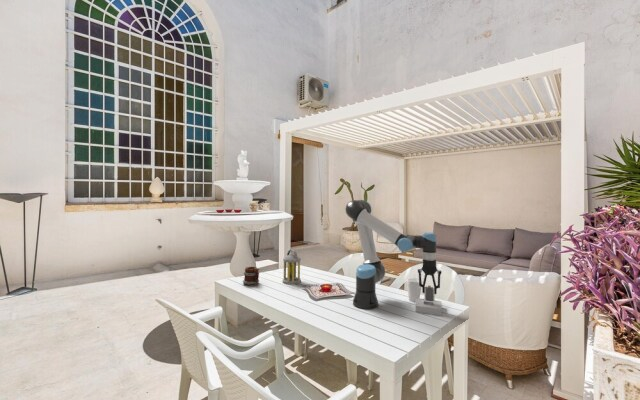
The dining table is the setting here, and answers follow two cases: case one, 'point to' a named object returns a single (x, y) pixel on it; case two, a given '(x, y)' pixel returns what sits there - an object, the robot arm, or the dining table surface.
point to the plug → (429, 293)
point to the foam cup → (413, 289)
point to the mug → (251, 276)
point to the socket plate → (428, 306)
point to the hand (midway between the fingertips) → (429, 299)
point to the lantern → (291, 268)
